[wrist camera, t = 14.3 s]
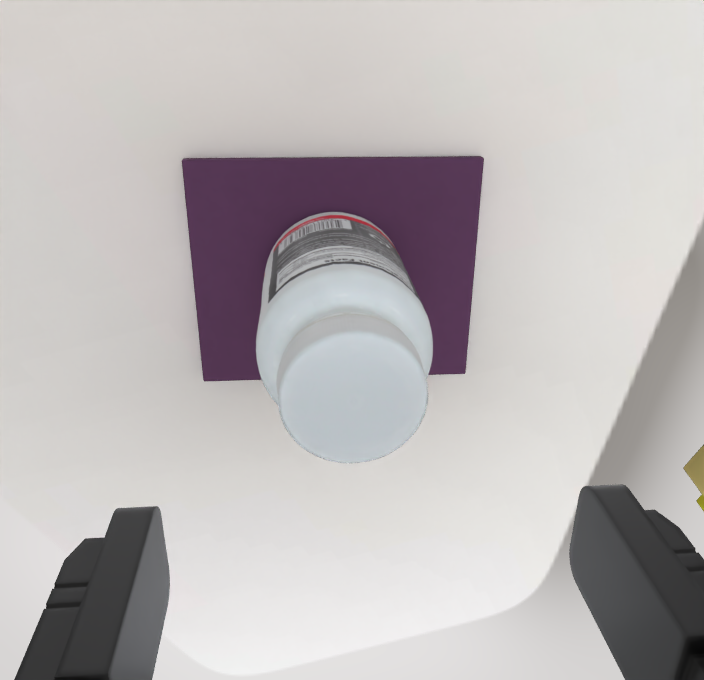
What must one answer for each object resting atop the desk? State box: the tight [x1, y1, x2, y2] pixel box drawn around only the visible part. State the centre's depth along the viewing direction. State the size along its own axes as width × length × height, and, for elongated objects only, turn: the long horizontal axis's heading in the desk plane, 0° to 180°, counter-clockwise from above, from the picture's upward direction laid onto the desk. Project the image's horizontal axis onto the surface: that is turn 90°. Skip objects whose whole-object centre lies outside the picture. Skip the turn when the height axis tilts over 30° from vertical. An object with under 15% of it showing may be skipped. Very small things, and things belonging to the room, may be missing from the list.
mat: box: [182, 156, 484, 381], centre depth 27 cm, size 11×9×1 cm
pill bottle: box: [256, 212, 433, 463], centre depth 22 cm, size 5×5×10 cm
